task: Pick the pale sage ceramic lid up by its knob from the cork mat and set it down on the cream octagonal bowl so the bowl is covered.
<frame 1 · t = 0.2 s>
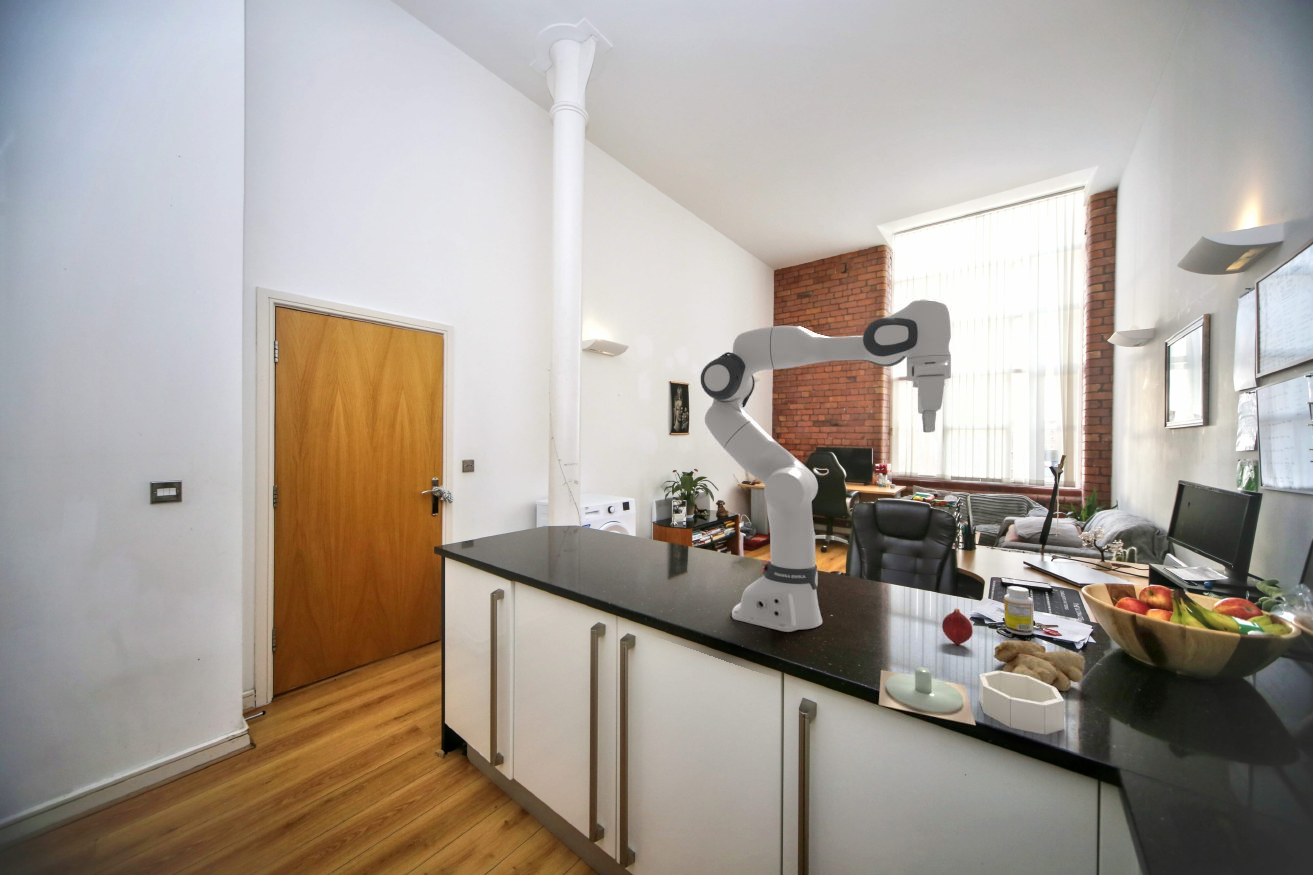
hand: (928, 432, 112), 47 cm above the counter, fingers open, 8 cm apart
onion: (957, 645, 110), on the counter
lid: (923, 694, 87), point 1 cm above the counter, touching mat
ginger root: (1031, 680, 94), on the counter
mat: (923, 697, 87), on the counter
bowl: (1019, 716, 81), on the counter
supplement bottle: (1018, 632, 117), on the counter
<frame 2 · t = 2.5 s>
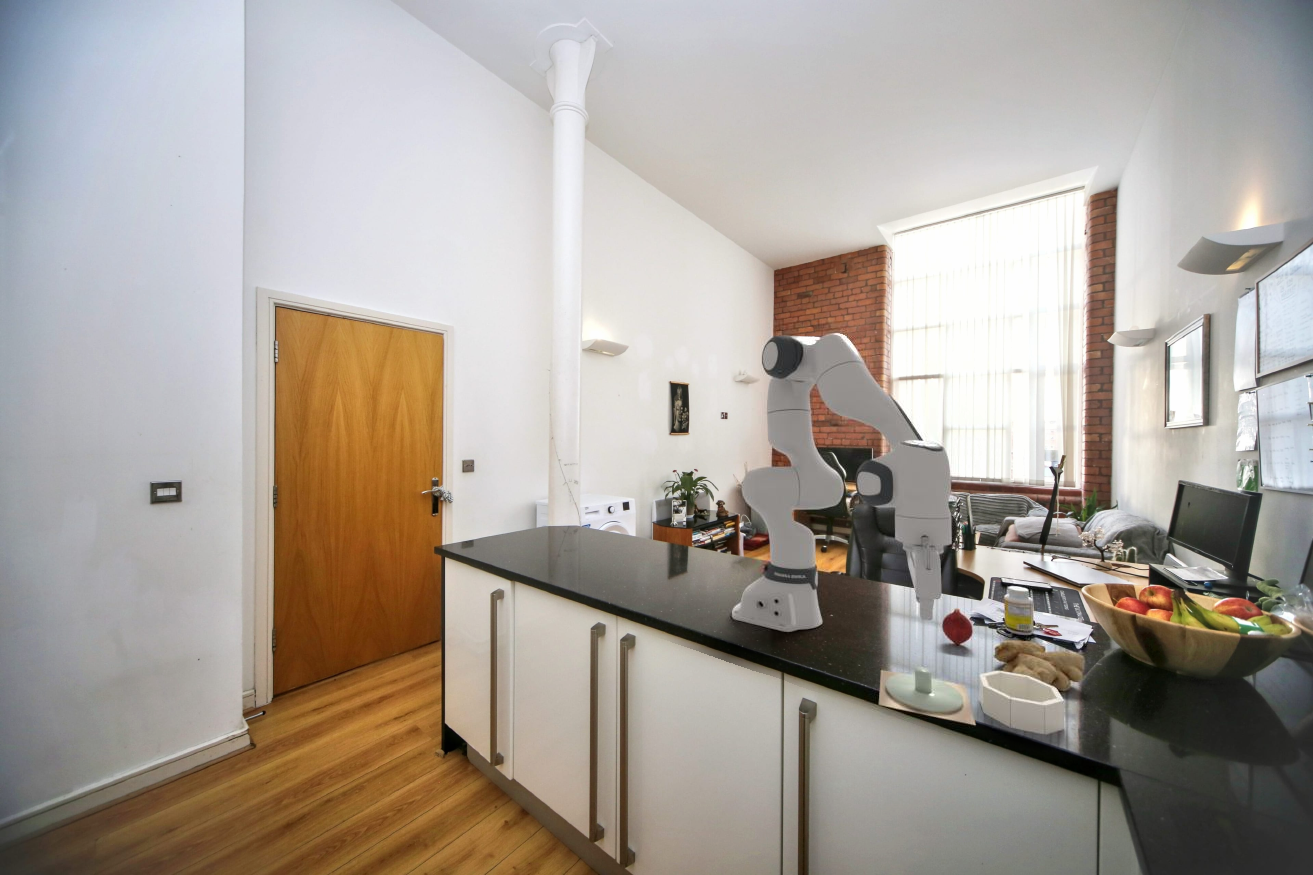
hand: (923, 609, 87), 16 cm above the counter, fingers open, 8 cm apart
nothing on the counter moved.
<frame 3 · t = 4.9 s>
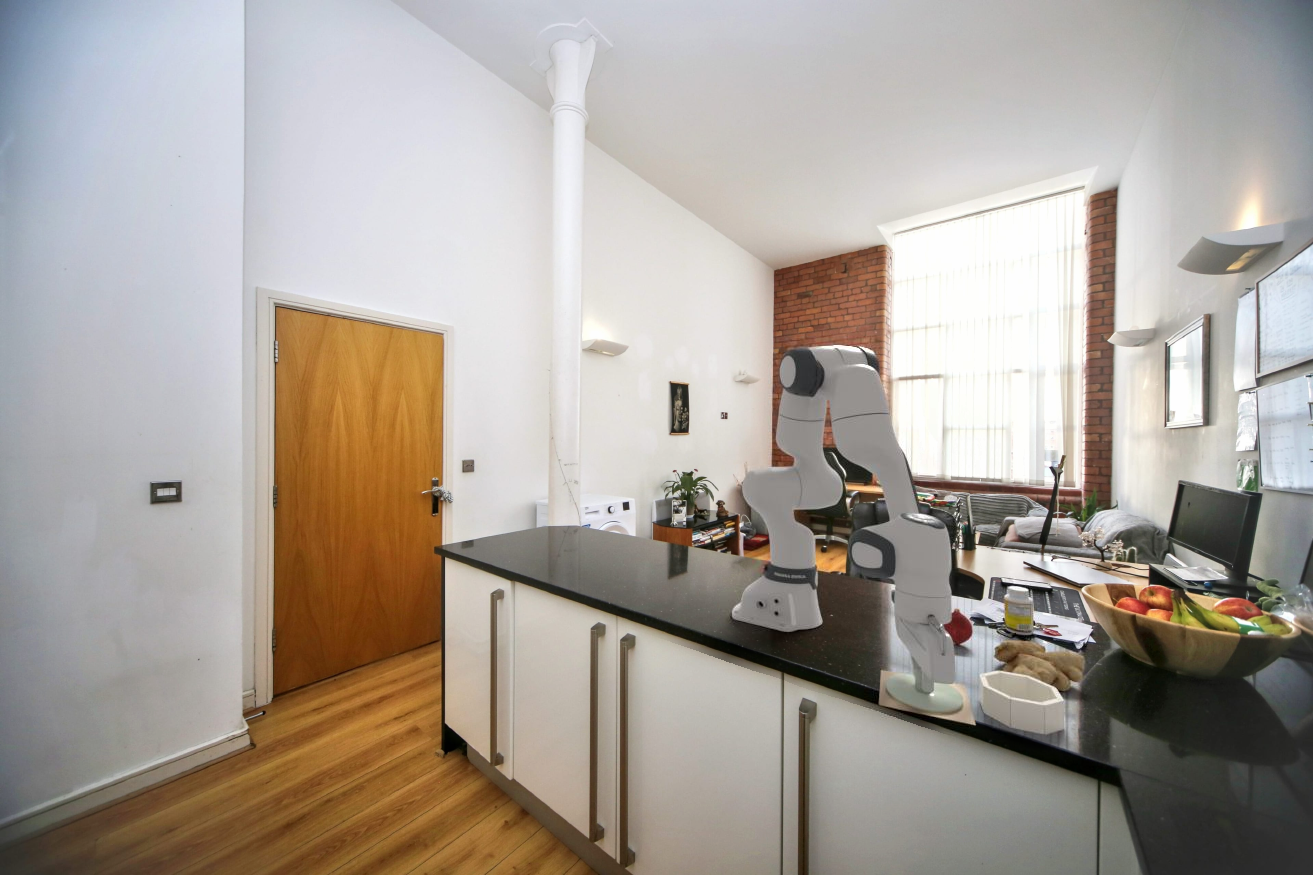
hand: (923, 684, 87), 2 cm above the counter, fingers closed on lid, 3 cm apart
lid: (923, 694, 87), point 1 cm above the counter, touching gripper, mat
everything else where it was.
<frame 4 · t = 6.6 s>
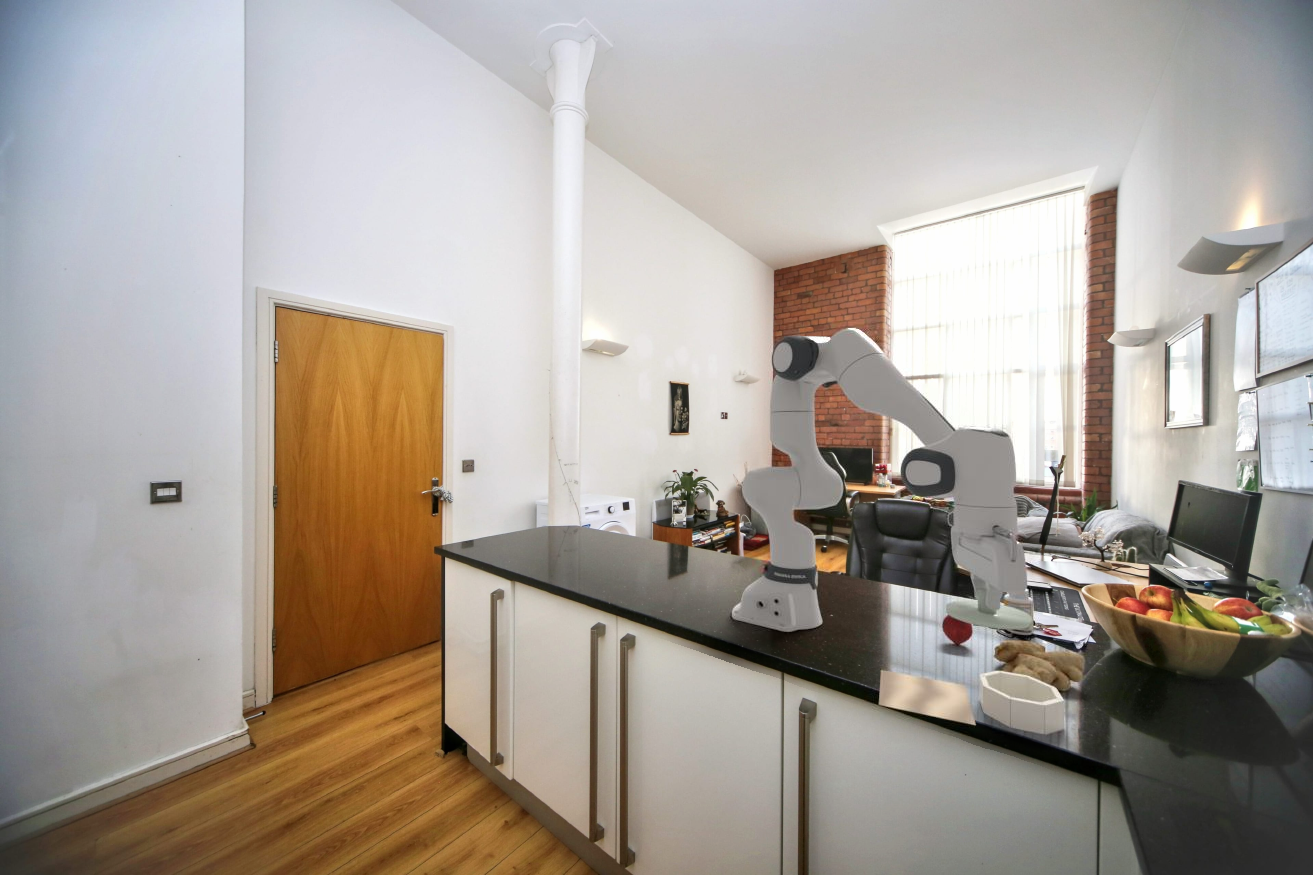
hand: (987, 604, 83), 18 cm above the counter, fingers closed on lid, 3 cm apart
lid: (987, 616, 83), point 16 cm above the counter, touching gripper
everything else where it was.
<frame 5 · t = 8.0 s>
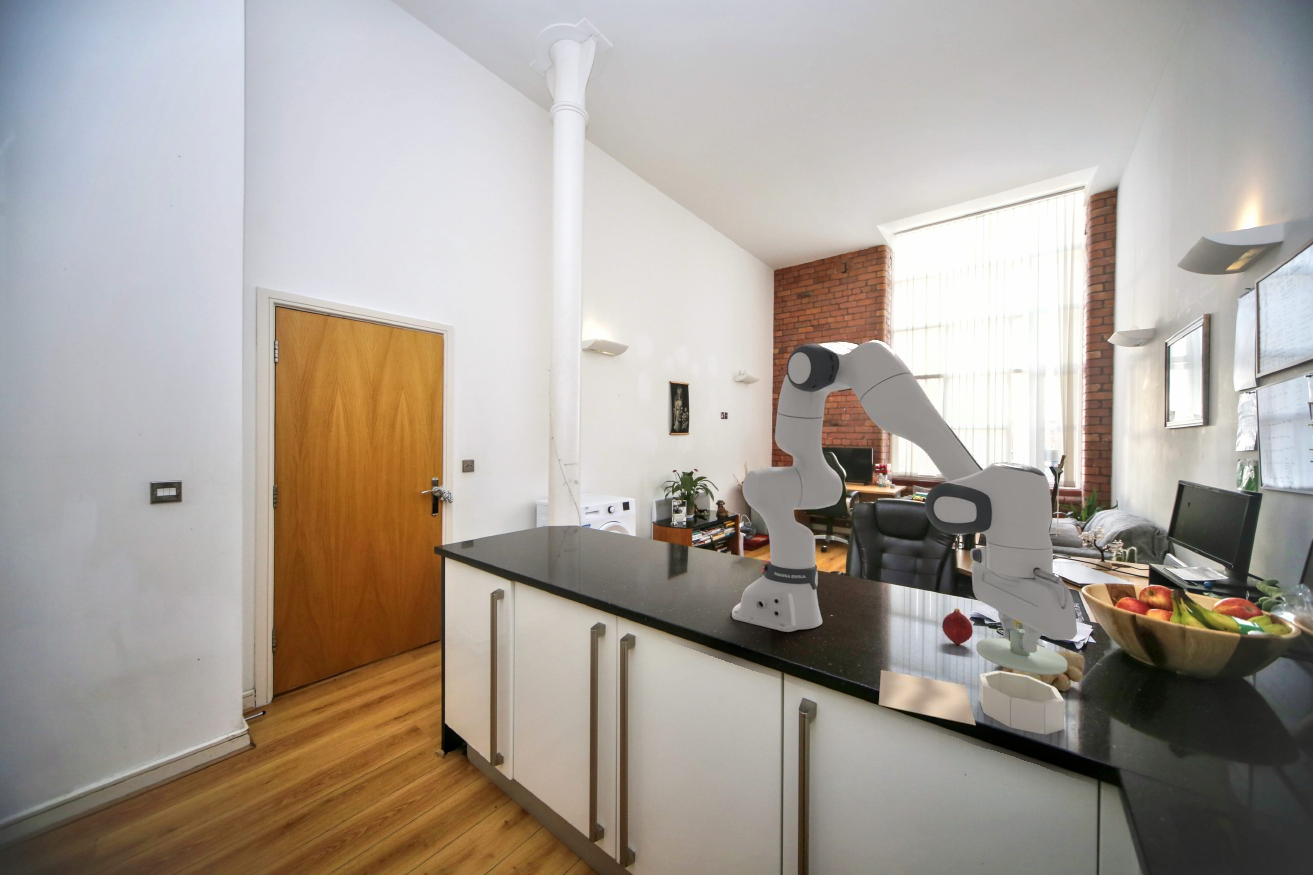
hand: (1019, 645, 81), 12 cm above the counter, fingers closed on lid, 3 cm apart
lid: (1019, 657, 81), point 10 cm above the counter, touching gripper
everything else where it was.
when the fingers open (8 cm above the counter, at t = 8.8 s): lid drops 1 cm, resting on bowl.
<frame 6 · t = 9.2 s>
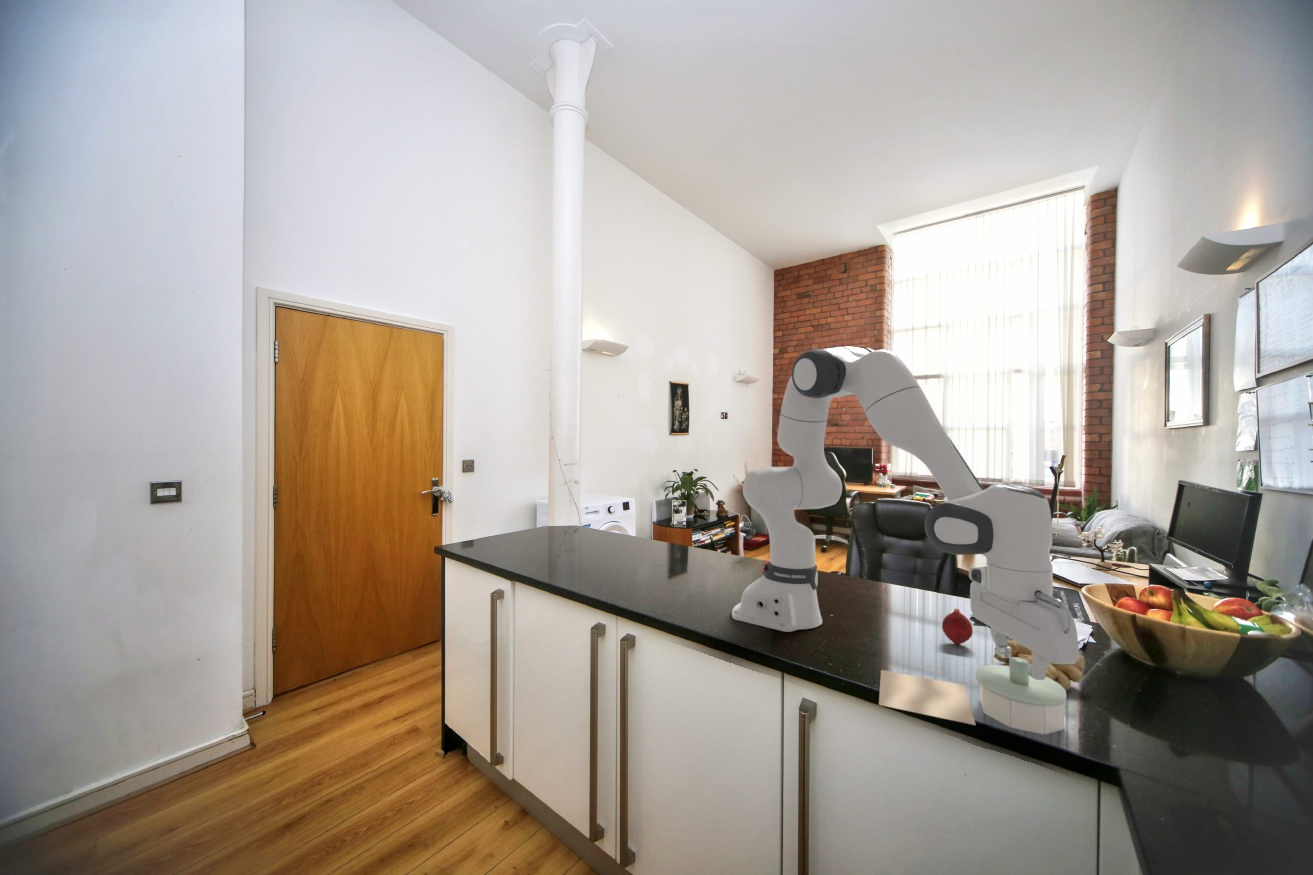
hand: (1019, 666, 81), 8 cm above the counter, fingers open, 6 cm apart
lid: (1019, 686, 81), point 5 cm above the counter, touching bowl
everything else where it was.
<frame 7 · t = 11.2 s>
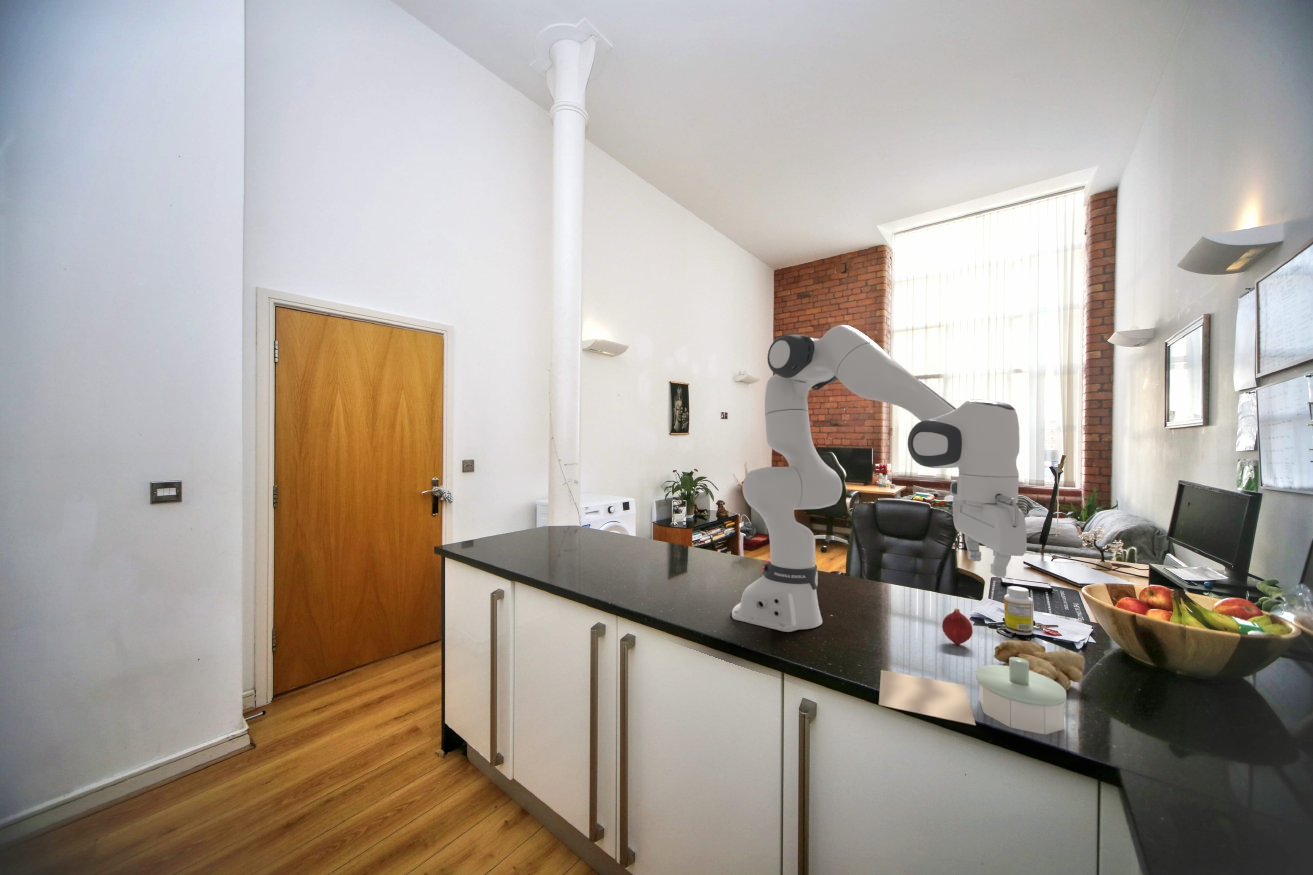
hand: (985, 567, 88), 23 cm above the counter, fingers open, 8 cm apart
nothing on the counter moved.
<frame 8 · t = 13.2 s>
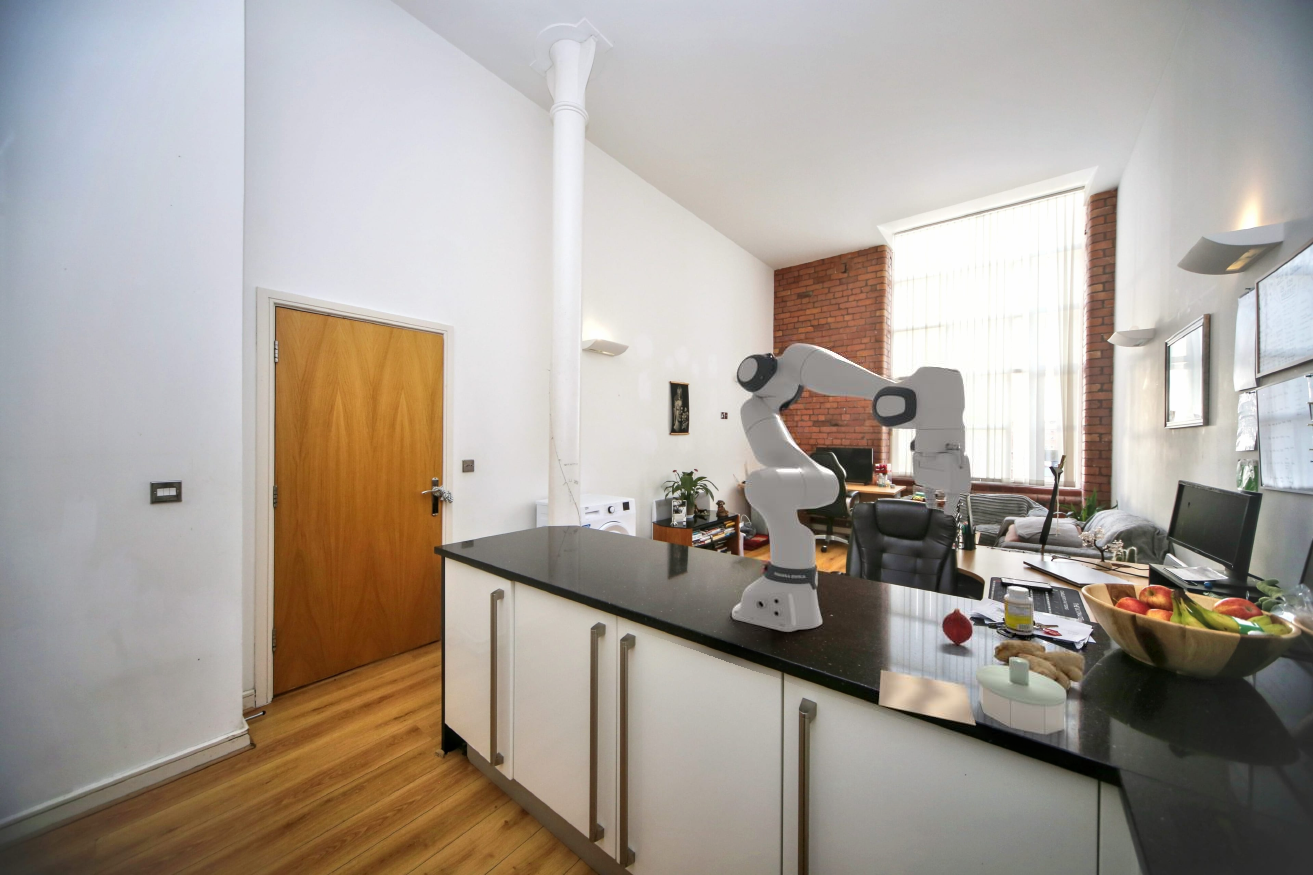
hand: (940, 511, 101), 31 cm above the counter, fingers open, 8 cm apart
nothing on the counter moved.
at the end: lid 0.1 cm off-centre on the bowl, point 5.0 cm above the bowl's base; lid tilted 0°; the gripper is holding nothing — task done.
